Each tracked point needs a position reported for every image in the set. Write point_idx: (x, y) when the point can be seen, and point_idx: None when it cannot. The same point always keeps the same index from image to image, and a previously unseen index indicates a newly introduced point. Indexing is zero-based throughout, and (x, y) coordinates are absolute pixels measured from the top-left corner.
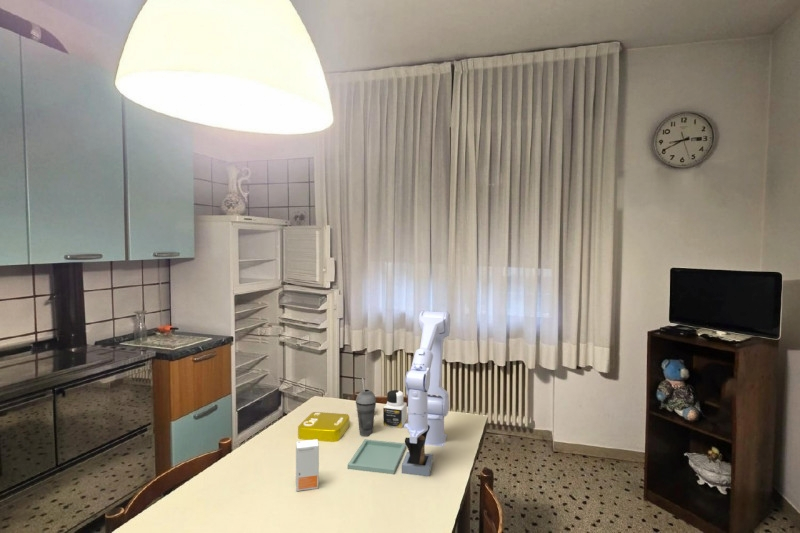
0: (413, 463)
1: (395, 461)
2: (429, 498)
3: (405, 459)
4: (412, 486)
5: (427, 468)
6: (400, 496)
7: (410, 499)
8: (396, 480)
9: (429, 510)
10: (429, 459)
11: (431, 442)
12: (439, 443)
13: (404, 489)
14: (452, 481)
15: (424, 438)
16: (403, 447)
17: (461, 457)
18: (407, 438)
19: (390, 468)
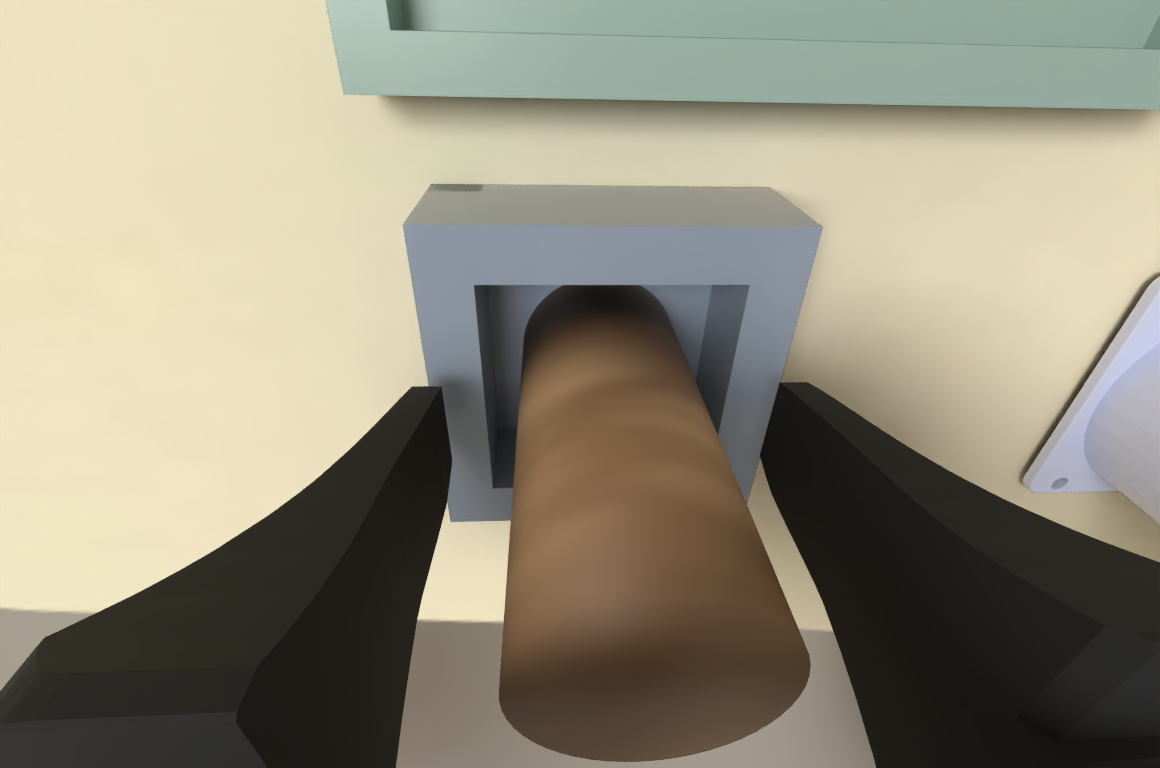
0: (531, 354)
1: (611, 56)
2: (171, 487)
3: (583, 248)
4: (266, 340)
5: (449, 504)
6: (14, 261)
7: (44, 361)
8: (292, 143)
9: (19, 507)
10: None
11: (1125, 410)
12: (1091, 464)
13: (166, 275)
14: (479, 579)
15: (640, 756)
16: (1081, 96)
17: None
18: (187, 755)
19: (367, 16)
